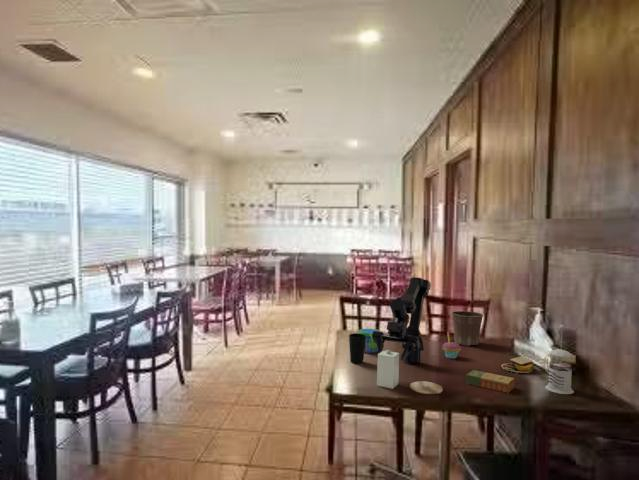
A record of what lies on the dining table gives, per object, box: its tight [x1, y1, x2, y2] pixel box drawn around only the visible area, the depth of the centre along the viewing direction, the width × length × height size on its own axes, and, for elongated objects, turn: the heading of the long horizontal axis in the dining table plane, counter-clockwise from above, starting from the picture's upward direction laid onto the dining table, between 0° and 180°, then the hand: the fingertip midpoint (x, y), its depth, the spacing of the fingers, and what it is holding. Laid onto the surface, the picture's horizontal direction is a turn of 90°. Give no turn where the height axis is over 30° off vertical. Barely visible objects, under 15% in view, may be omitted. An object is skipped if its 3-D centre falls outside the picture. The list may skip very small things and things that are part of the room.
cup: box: [348, 333, 366, 365], centre depth 201 cm, size 8×8×12 cm
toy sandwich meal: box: [500, 355, 534, 374], centre depth 196 cm, size 12×14×5 cm
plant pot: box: [451, 310, 484, 347], centre depth 240 cm, size 16×16×16 cm
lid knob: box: [423, 381, 430, 388], centre depth 170 cm, size 3×3×2 cm
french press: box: [543, 324, 575, 395], centre depth 173 cm, size 10×12×25 cm
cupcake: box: [441, 331, 462, 359], centre depth 213 cm, size 9×8×12 cm
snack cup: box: [358, 328, 381, 354], centre depth 219 cm, size 16×10×10 cm
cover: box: [376, 349, 400, 390], centre depth 173 cm, size 6×6×13 cm
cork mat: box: [409, 380, 444, 395], centre depth 170 cm, size 12×12×1 cm
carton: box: [465, 369, 516, 394], centre depth 175 cm, size 8×16×4 cm, turn 52°
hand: (390, 358), depth 174 cm, fingers open, 9 cm apart
